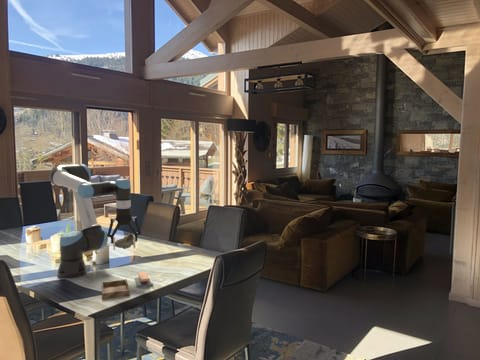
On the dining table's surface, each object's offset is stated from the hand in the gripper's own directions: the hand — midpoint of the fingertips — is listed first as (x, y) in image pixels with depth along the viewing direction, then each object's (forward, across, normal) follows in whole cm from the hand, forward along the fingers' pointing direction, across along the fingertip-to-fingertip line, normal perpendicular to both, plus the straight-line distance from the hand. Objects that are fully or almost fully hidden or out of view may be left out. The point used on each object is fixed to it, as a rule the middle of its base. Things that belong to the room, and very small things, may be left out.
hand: (124, 248), depth 203 cm
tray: (+18, -6, -15) cm, 24 cm away
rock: (+1, 0, +4) cm, 4 cm away
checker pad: (+15, +9, -8) cm, 19 cm away
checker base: (+18, +9, -8) cm, 21 cm away
